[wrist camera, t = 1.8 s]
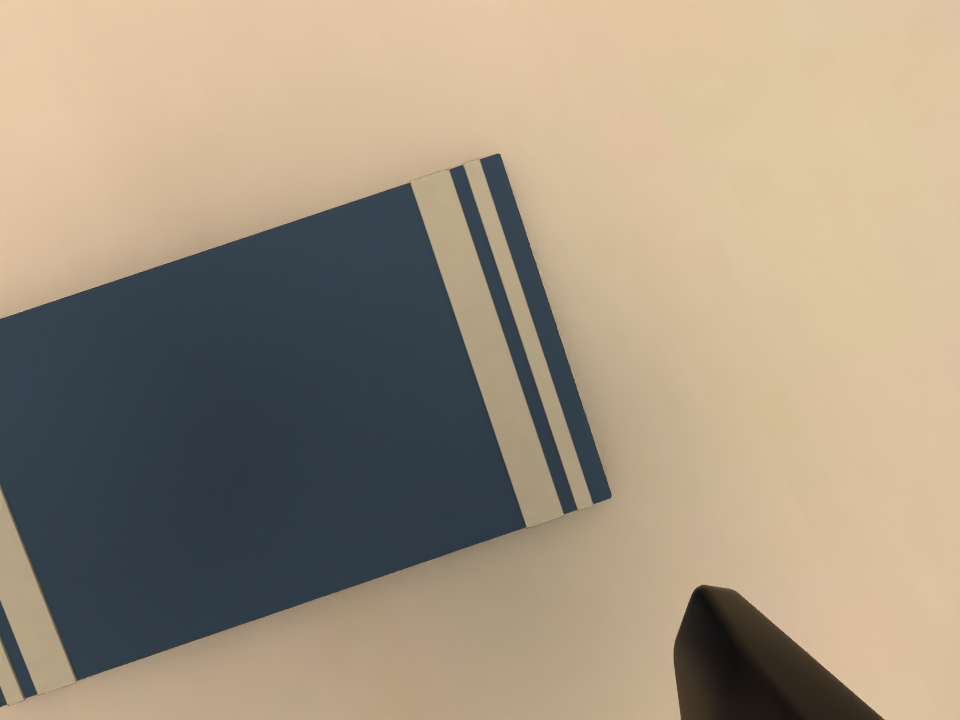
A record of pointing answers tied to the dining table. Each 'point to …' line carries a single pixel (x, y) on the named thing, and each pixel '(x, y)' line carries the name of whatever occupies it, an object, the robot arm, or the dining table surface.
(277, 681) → the dining table surface
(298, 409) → the towel
